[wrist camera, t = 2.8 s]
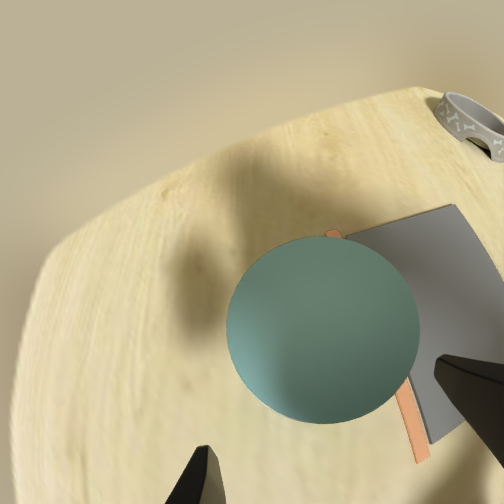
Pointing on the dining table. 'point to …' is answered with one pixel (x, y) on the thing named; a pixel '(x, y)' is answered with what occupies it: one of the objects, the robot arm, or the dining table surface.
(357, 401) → the teal cylinder
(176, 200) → the dining table surface
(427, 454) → the orange strip
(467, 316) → the mat
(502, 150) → the dog bowl
